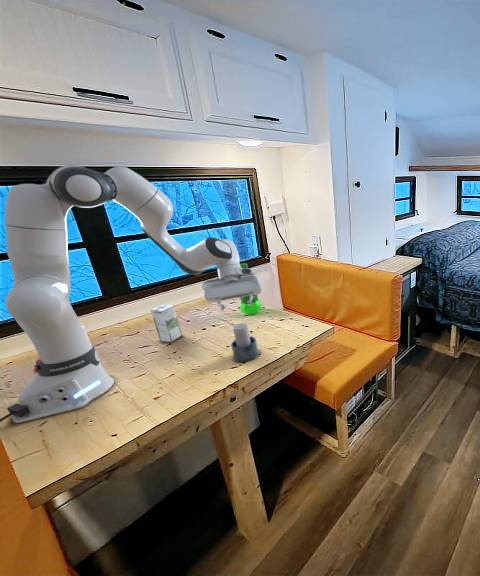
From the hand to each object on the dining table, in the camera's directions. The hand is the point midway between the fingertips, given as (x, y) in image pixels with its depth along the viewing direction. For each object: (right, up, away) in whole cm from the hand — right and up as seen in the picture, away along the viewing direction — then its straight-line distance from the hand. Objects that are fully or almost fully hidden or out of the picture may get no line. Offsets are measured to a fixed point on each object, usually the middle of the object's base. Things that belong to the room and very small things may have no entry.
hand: (236, 307), depth 117 cm
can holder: (+5, -18, -2) cm, 19 cm away
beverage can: (+5, -18, -2) cm, 19 cm away
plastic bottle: (-9, -5, +34) cm, 36 cm away
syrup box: (-33, -14, +12) cm, 38 cm away
